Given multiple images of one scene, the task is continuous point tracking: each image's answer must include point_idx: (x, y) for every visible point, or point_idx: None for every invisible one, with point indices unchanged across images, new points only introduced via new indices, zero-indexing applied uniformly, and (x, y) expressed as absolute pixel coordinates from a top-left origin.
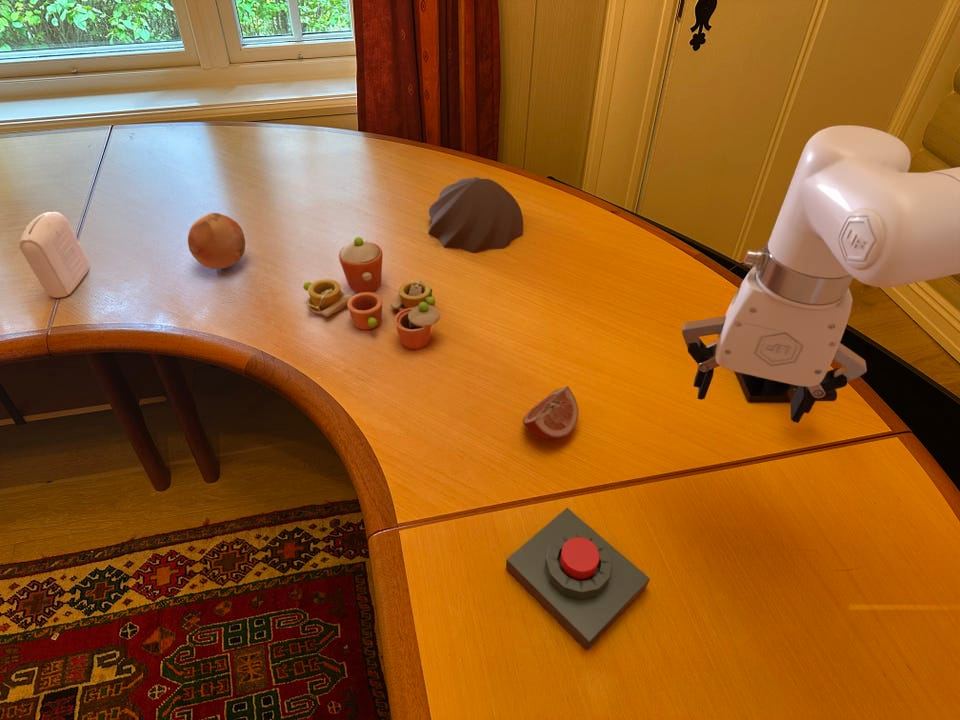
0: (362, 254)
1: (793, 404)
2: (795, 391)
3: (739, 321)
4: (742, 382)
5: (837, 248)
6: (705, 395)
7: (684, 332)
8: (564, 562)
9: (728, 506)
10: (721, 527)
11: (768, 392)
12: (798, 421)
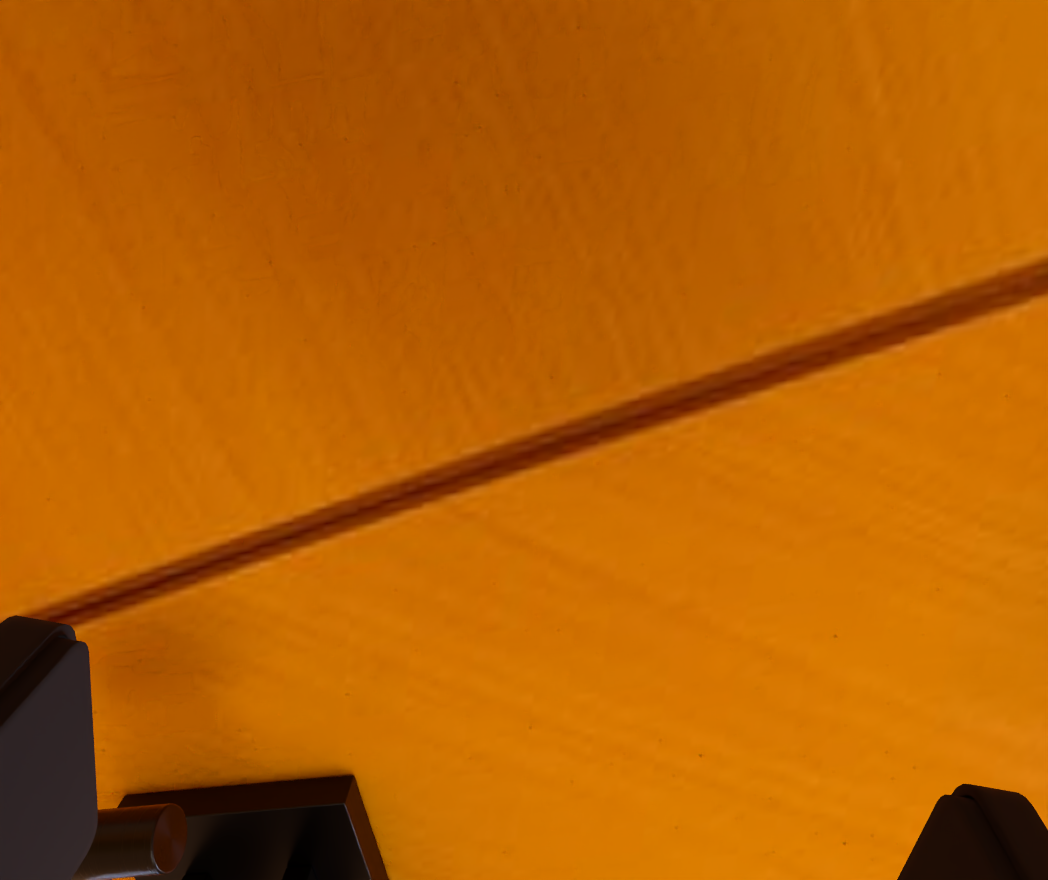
0: None
1: (49, 819)
2: (146, 860)
3: None
4: (370, 857)
5: None
6: (980, 843)
7: None
8: None
9: (475, 261)
10: (518, 136)
11: (274, 825)
12: (3, 628)
